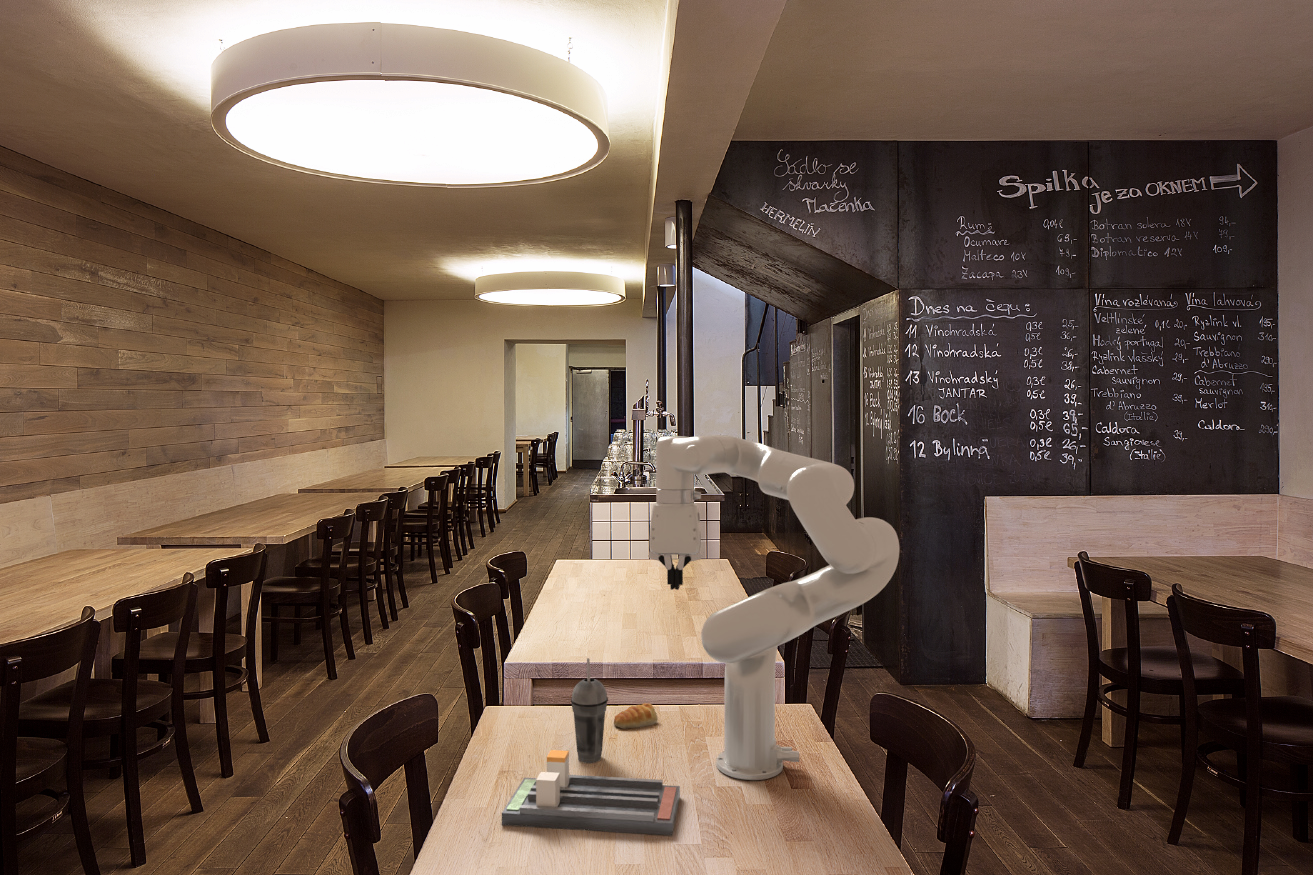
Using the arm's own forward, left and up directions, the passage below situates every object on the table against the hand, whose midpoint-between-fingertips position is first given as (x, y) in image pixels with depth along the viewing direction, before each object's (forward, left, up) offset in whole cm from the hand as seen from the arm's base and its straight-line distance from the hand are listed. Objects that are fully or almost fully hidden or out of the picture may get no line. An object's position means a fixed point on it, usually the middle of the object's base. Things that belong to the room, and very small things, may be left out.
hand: (675, 588), depth 163 cm
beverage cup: (+16, +8, -32) cm, 37 cm away
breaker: (+18, +32, -30) cm, 47 cm away
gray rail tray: (+11, +29, -32) cm, 44 cm away
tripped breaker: (+18, +25, -30) cm, 43 cm away
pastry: (+10, -11, -33) cm, 36 cm away
